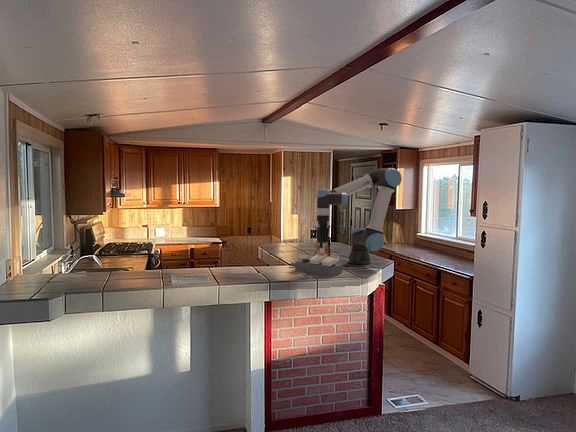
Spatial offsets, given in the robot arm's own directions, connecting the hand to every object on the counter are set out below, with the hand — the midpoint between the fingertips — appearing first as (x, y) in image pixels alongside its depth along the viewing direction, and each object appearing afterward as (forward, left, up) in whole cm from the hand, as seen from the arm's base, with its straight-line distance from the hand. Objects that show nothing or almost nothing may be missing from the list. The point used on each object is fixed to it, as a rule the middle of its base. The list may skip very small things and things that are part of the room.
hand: (322, 253), depth 273 cm
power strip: (+4, -4, -11) cm, 12 cm away
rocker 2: (+4, 0, -4) cm, 5 cm away
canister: (-13, -9, -11) cm, 19 cm away
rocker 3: (+4, +9, -4) cm, 11 cm away
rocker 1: (+4, -9, -4) cm, 11 cm away
